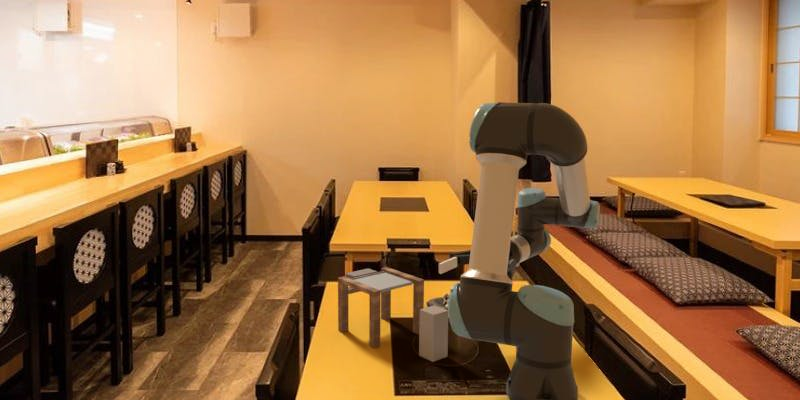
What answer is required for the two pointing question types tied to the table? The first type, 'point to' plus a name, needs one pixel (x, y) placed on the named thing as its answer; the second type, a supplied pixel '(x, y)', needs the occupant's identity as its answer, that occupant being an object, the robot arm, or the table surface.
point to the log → (439, 302)
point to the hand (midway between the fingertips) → (459, 275)
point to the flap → (378, 279)
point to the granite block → (433, 333)
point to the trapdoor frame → (377, 303)
